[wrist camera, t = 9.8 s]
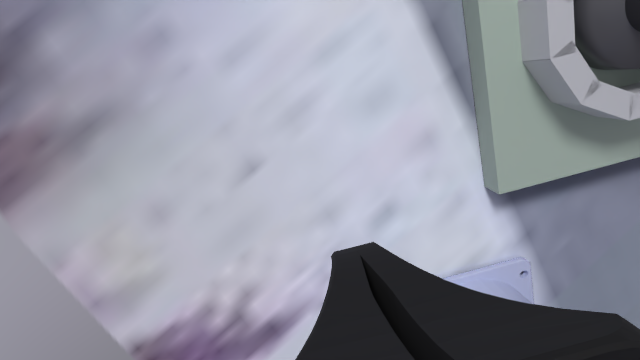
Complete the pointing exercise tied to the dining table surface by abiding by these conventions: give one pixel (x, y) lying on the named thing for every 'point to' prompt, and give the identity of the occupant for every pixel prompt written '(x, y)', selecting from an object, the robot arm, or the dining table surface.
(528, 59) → the mount board
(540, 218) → the dining table surface
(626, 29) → the joystick
